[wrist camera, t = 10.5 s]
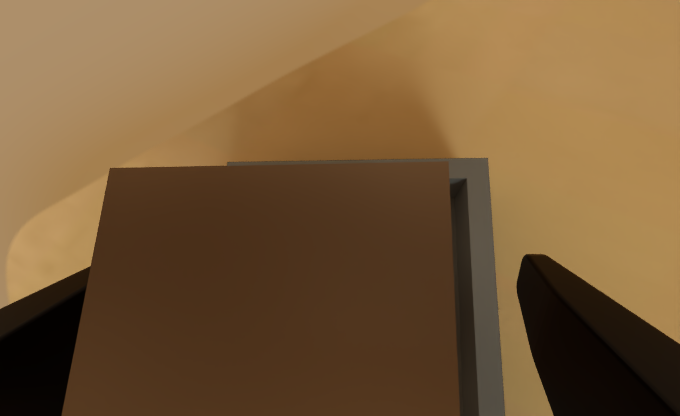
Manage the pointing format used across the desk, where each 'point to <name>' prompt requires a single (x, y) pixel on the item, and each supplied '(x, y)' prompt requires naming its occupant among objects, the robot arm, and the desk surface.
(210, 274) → the walnut block
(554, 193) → the desk surface
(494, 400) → the tray
